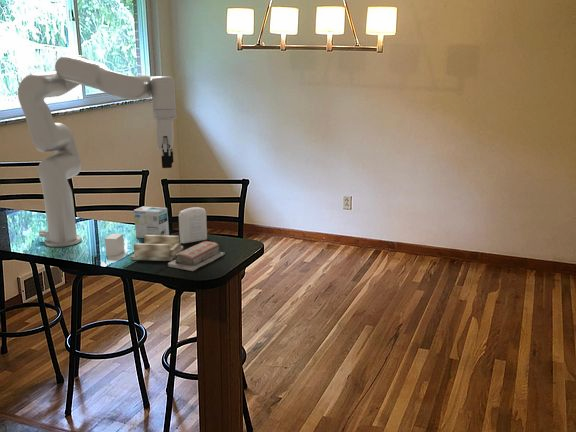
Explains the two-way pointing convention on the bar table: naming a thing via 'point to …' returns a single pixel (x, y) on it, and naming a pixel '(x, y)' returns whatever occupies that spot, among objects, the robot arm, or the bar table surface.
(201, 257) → the packaged product
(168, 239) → the beige wooden tray
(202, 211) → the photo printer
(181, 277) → the bar table surface
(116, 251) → the white rectangular block
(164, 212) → the light bulb box
